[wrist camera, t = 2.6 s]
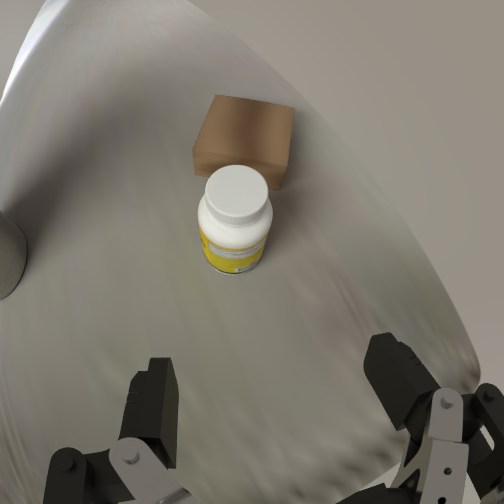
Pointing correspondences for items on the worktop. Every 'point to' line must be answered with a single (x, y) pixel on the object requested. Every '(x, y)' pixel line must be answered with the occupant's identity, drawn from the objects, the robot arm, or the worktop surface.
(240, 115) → the walnut block
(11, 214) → the worktop surface
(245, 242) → the supplement bottle
